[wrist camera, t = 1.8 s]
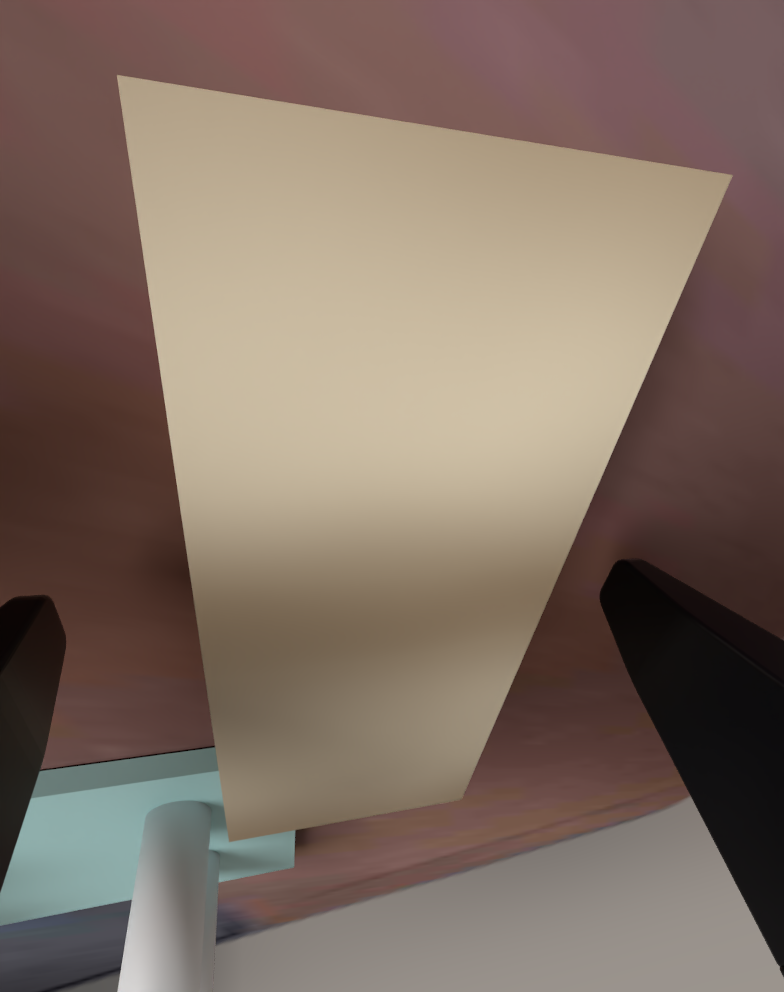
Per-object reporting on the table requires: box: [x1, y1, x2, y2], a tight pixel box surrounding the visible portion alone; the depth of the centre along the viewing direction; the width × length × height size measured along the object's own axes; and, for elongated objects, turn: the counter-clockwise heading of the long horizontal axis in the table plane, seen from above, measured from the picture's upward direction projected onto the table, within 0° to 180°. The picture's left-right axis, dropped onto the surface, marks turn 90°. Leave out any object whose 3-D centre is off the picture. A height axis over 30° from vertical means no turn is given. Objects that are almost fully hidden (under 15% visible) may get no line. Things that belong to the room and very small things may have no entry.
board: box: [117, 75, 733, 842], centre depth 9 cm, size 12×5×3 cm, turn 173°
